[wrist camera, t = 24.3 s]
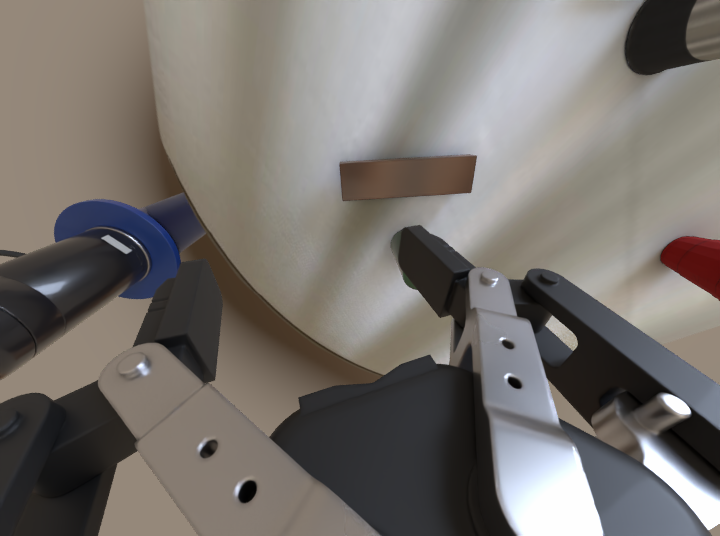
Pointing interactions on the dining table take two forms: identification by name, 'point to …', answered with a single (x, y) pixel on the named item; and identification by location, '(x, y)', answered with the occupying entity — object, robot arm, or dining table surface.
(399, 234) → the green bottle
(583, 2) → the dining table surface
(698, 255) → the plastic cup
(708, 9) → the milk frother
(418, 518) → the robot arm
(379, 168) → the brush
